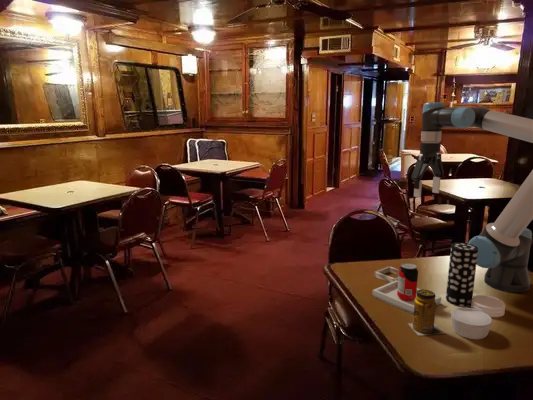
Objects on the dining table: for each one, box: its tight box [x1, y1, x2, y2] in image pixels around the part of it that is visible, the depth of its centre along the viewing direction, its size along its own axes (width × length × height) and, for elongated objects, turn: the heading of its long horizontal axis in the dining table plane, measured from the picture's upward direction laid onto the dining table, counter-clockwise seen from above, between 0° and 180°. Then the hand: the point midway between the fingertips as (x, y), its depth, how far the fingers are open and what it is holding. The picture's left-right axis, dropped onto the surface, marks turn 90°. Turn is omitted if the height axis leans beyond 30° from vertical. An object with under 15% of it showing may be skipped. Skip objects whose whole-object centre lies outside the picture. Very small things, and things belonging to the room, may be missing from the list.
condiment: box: [407, 288, 446, 336], centre depth 125 cm, size 7×8×12 cm
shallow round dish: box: [470, 294, 506, 318], centre depth 137 cm, size 10×10×4 cm
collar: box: [373, 265, 399, 283], centre depth 164 cm, size 10×10×2 cm
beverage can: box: [397, 262, 419, 301], centre depth 143 cm, size 6×6×12 cm
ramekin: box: [450, 307, 493, 340], centre depth 124 cm, size 11×11×5 cm
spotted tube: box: [445, 242, 478, 307], centre depth 142 cm, size 8×8×20 cm
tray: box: [371, 280, 442, 315], centre depth 144 cm, size 18×14×2 cm
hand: (426, 194), depth 168 cm, fingers open, 13 cm apart
